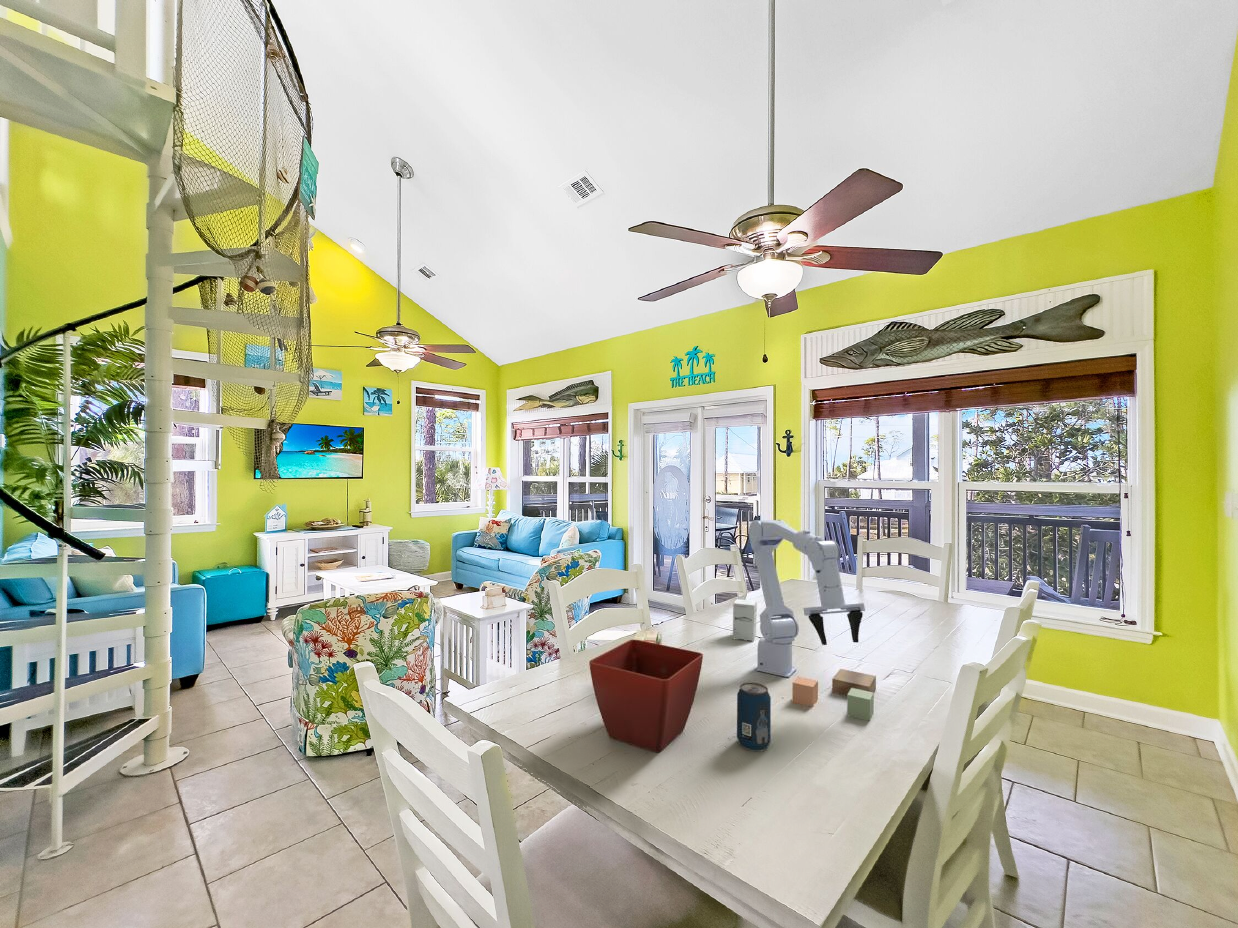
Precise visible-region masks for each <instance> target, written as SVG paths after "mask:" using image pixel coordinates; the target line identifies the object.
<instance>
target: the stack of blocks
mask: <svg viewBox="0 0 1238 928" xmlns="http://www.w3.org/2000/svg"><path fill="white" fill-rule="evenodd" d="M633 639H635V640H641V641H646V642H651V643H656V644H660V645H663V642H662V632H661V631H660V632H659V630H645V629H643V630H642V629H637V630H636V634H635V635H634V637H633Z"/></svg>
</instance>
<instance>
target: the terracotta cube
mask: <svg viewBox="0 0 1238 928" xmlns="http://www.w3.org/2000/svg"><path fill="white" fill-rule="evenodd" d="M791 696H792V700H791V701H792V703H794V704H798V703H799V704H798V705H802V704H803V705H802V706H806V705H808V706H807V707H811V706H812V707H811V708H814V706H815V705H816V704H817V702H818V701H817V700H819V680H817V679H812V678H807V677H802V676H796V678H795V679H794V680H793V682H792V695H791ZM814 704H815V705H814Z"/></svg>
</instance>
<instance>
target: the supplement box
mask: <svg viewBox="0 0 1238 928" xmlns="http://www.w3.org/2000/svg"><path fill="white" fill-rule="evenodd" d="M732 606H733V608H732V610H733V611H732V612H733V613H732V639H733V638H735V639H734V640H739V639H744V640H743V641H747V640H753V641H752V642H754V641H755V639H756V637H757V608H758V601H757V600H749V599H748V600H747V599H741V598H739V599H738V598H736V599H735V601H734V602H733V605H732Z"/></svg>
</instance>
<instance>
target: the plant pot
mask: <svg viewBox="0 0 1238 928" xmlns="http://www.w3.org/2000/svg"><path fill="white" fill-rule="evenodd" d="M703 658H704V654H703V653H702V652H698V651H694V650H689V649H684V648H679V647H674V646H671V645H670V646H669V645H664V644H662V645H660V644H656V643H651V642H646V641H641V640H635V639H634V638H633V639H629V640H628V641H626V642H624V643H622V644H619V645H617V646H615V647H614V648H612V649H610V650H608V651H606V652H604V653H602V654H600V655H598V656H596V657H594V658H593V659H590V660H589V664H588V665H589V671H590V672H589V673H590V677H591V682H592V688H593V691H594V695H595V700H596V704H597V706H598V711H599V714H600V716H601V720H602V722H603V724H604V727H605V731H606V732H607V735H608V737H609V738H610V739H613V740H617V741H620V742H624V743H626V744H629V745H633V746H636V747H638V748H642V749H645V750H648V751H651V752H655V753H659V752H662V751H663V750H664V749H665V748H666V747H667V746H668V745H669V744H670V743H671V742H672V741H673V740H674V739H675V738H677V737H678V735H680V734H681V733H682V732H683V731H684V730H685V728H686V725H687V722H688V720H689V717H690V714H691V710H692V708H693V704H694V701H695V697H696V694H697V689H698V685H699V681H700V676H701V671H702V665H703Z"/></svg>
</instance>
